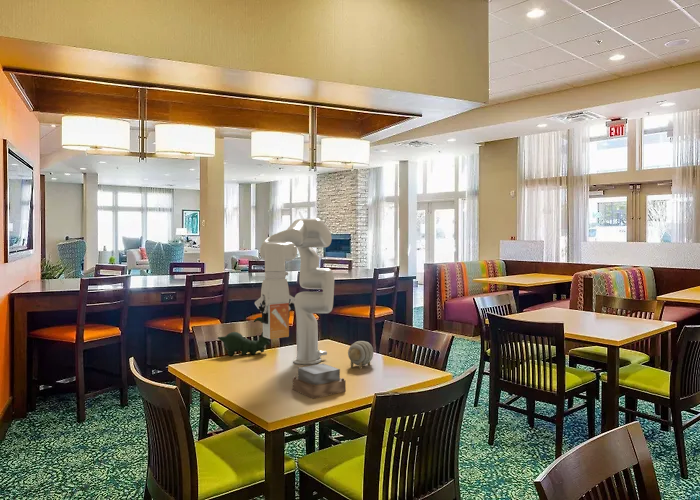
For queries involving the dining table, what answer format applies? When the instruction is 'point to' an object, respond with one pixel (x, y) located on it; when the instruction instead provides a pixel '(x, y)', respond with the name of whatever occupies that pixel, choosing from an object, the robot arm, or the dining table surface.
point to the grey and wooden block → (319, 381)
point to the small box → (277, 321)
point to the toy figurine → (244, 342)
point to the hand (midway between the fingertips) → (275, 321)
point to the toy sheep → (360, 353)
